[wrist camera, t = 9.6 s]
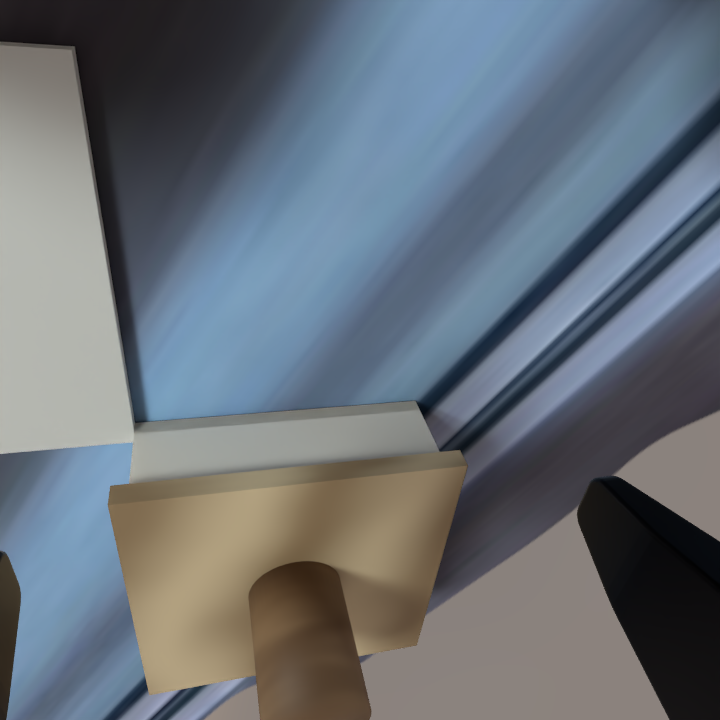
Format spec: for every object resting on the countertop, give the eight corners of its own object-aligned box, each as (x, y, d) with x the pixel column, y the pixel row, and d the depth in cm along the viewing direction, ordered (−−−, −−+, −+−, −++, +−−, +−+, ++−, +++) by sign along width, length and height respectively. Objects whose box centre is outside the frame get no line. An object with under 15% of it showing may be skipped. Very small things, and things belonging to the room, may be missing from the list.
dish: (415, 400, 25) (443, 460, 22) (383, 563, 31) (402, 625, 28) (134, 422, 22) (128, 494, 19) (162, 595, 28) (160, 668, 26)
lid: (459, 449, 22) (532, 589, 17) (411, 629, 29) (454, 762, 24) (110, 485, 19) (87, 664, 14) (150, 676, 26) (143, 837, 21)
